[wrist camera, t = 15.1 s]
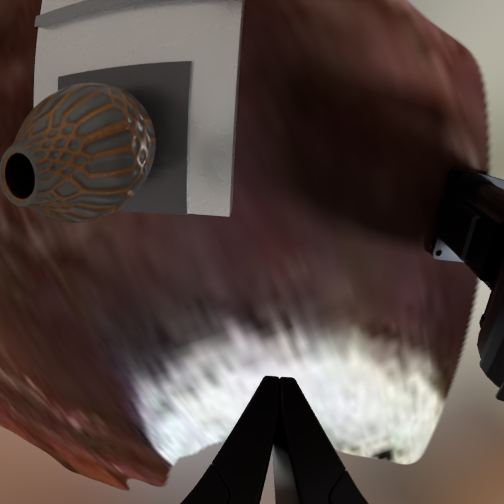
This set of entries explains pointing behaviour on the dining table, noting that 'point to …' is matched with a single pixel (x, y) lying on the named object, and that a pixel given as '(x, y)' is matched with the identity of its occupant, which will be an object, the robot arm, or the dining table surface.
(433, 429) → the dining table surface
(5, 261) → the dining table surface
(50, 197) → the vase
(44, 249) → the dining table surface
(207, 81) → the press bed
